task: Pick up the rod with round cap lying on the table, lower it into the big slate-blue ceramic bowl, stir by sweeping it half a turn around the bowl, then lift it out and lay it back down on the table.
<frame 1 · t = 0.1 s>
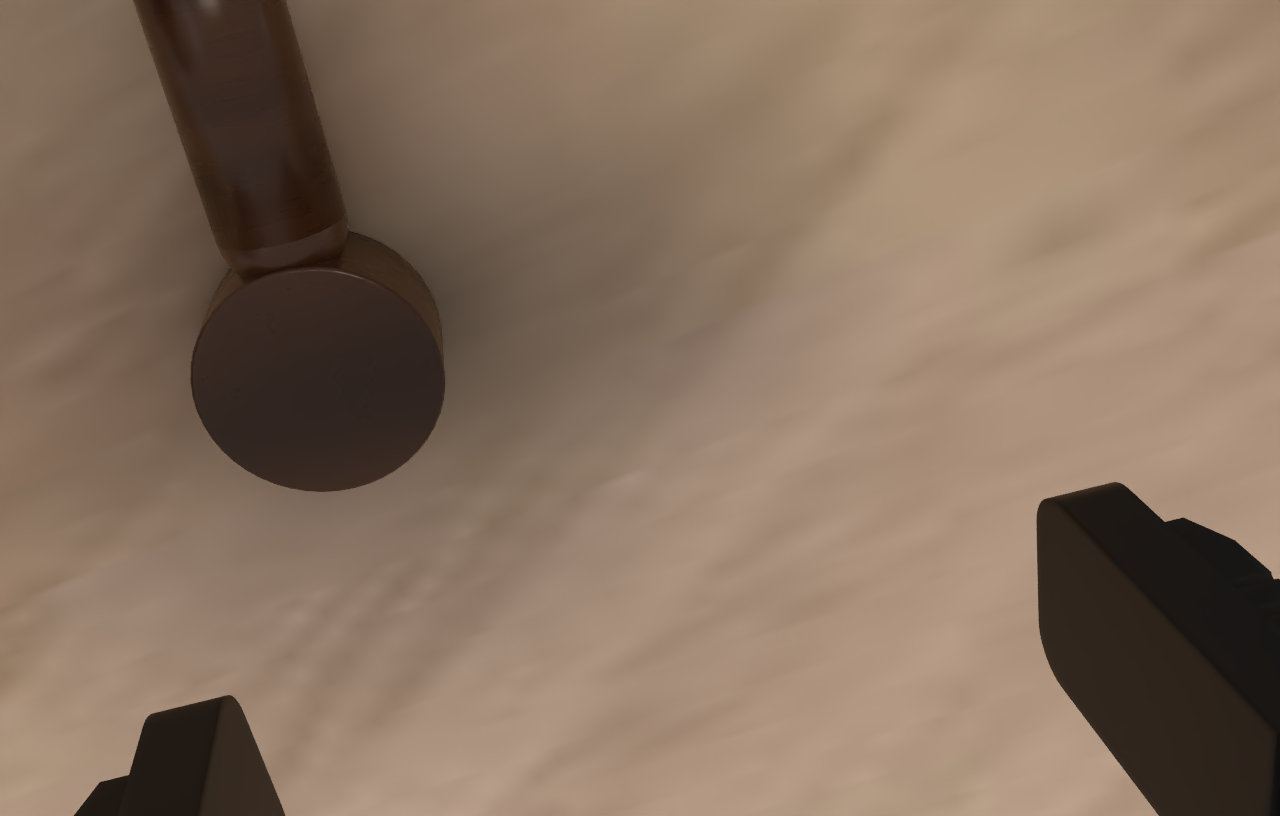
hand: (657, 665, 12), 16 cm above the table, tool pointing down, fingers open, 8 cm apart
rod with round cap: (257, 113, 25), on the table
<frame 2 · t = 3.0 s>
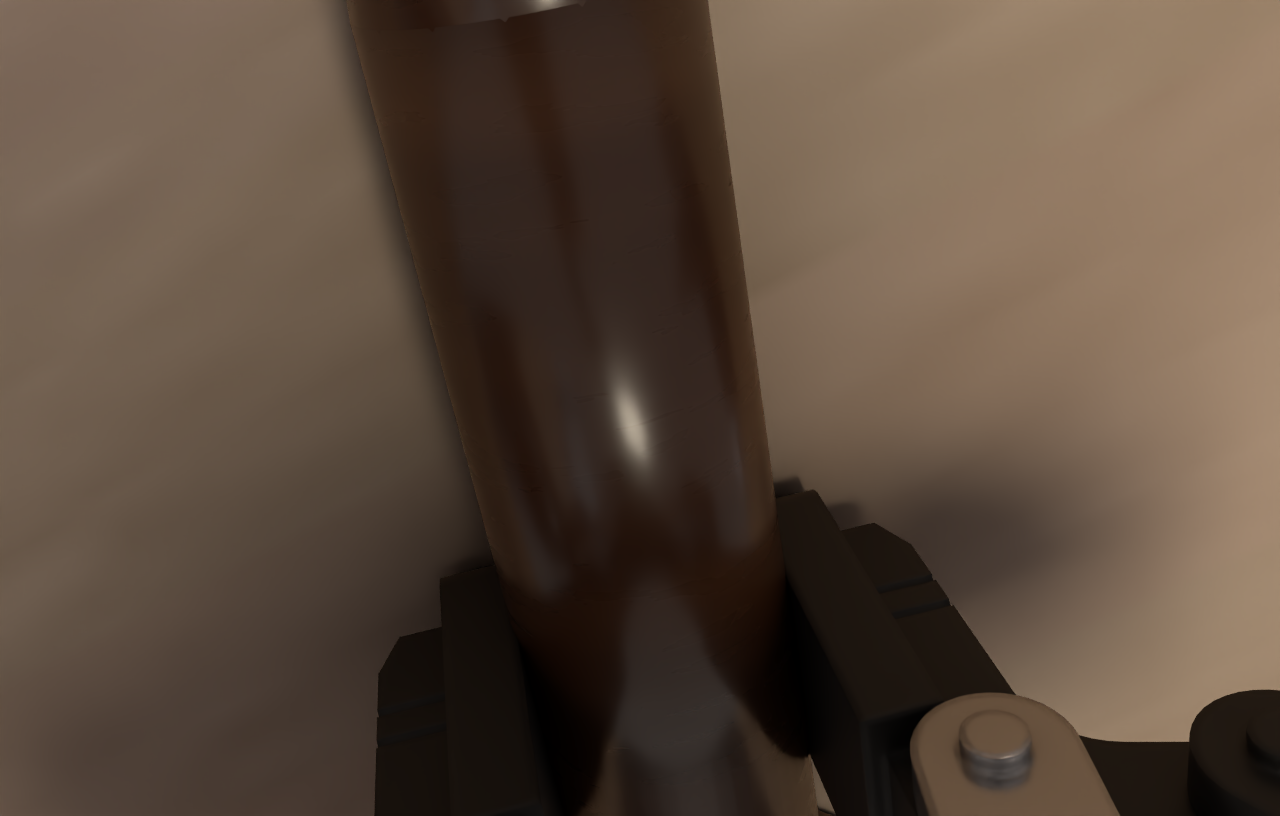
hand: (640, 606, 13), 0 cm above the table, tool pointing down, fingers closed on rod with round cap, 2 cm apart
rod with round cap: (648, 637, 13), on the table, touching gripper
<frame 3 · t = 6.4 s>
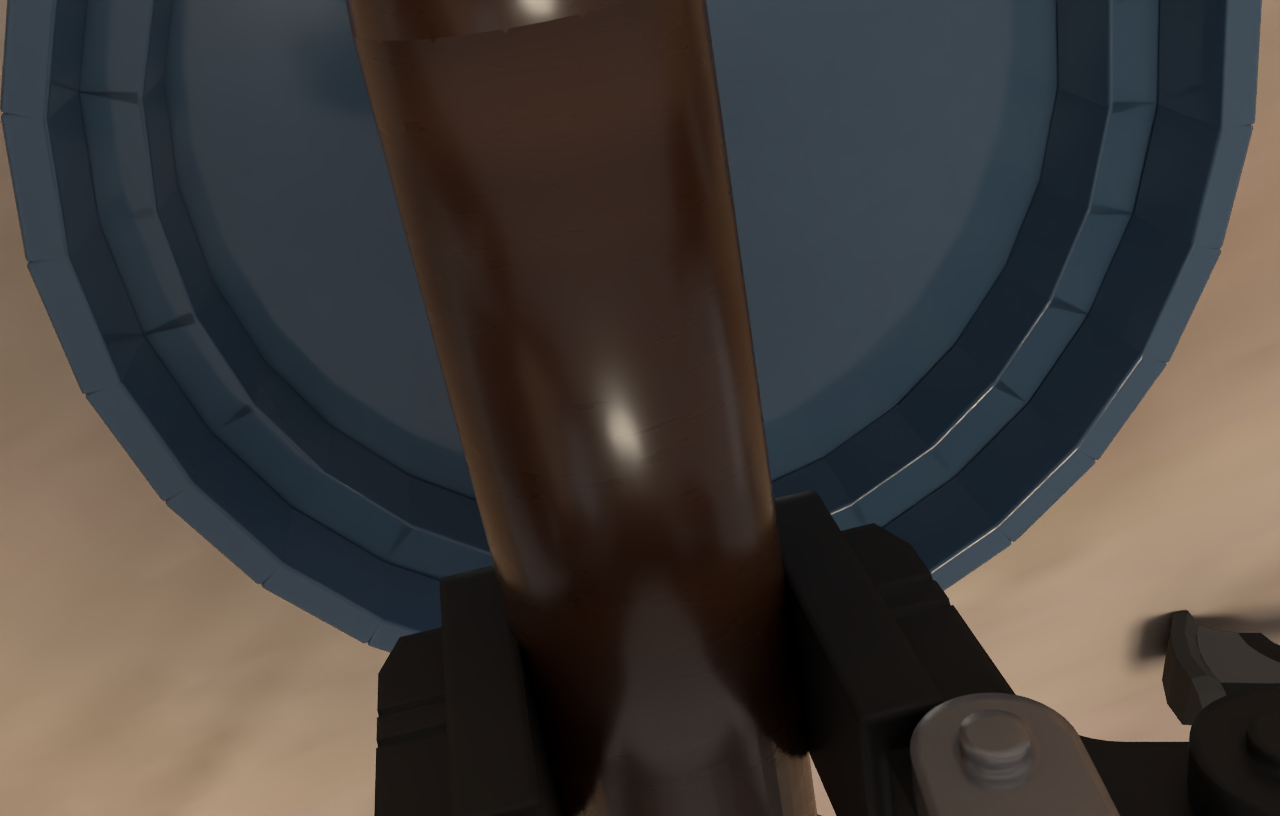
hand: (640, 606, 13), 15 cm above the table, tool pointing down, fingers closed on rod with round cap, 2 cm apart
rod with round cap: (648, 642, 13), point 15 cm above the table, touching gripper
bowl: (632, 125, 26), on the table
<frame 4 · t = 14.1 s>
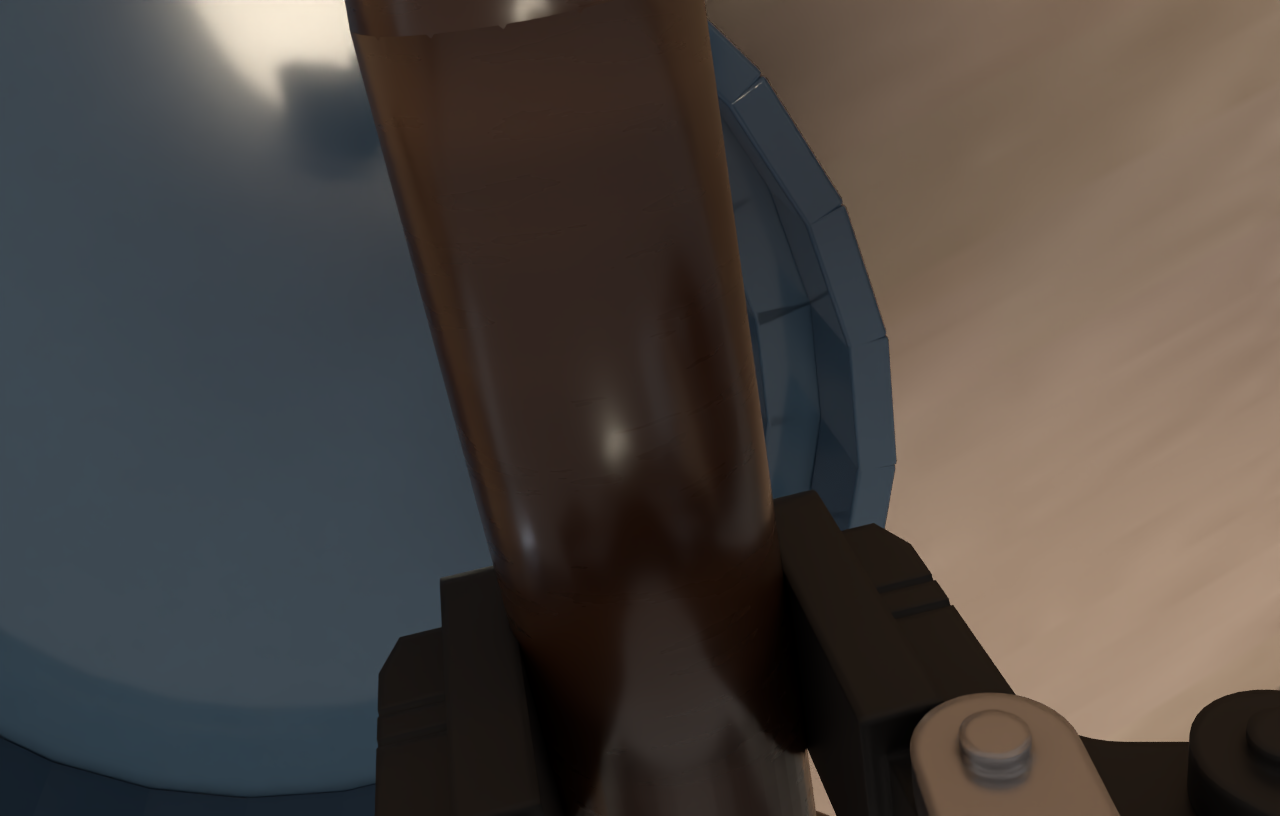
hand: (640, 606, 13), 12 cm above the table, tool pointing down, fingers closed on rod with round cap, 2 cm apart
rod with round cap: (647, 638, 13), point 12 cm above the table, touching gripper
bowl: (275, 412, 24), on the table
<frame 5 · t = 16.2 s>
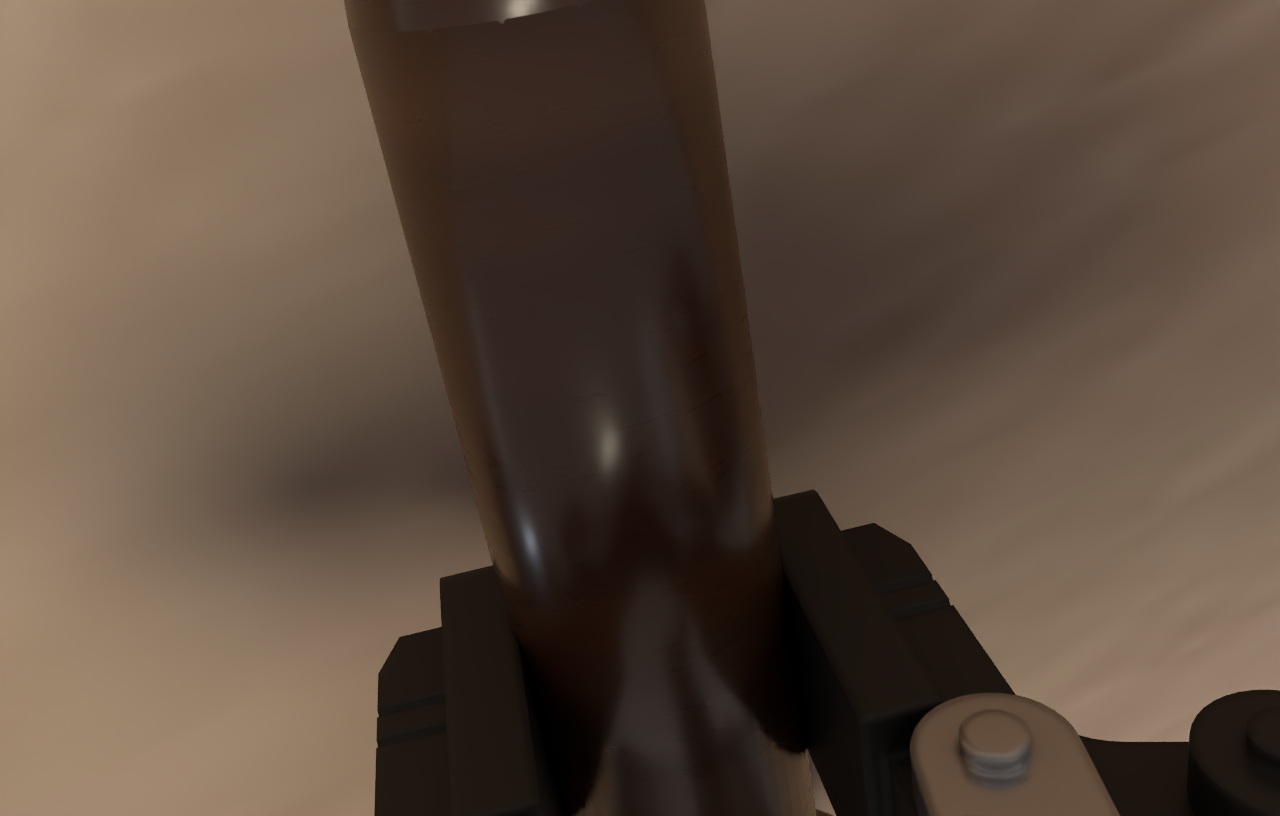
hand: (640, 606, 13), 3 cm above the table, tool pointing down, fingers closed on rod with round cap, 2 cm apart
rod with round cap: (647, 636, 13), point 3 cm above the table, touching gripper
when the fingers open (0 cm above the table, at t = 17.3 s): rod with round cap stays where it is, on the table.
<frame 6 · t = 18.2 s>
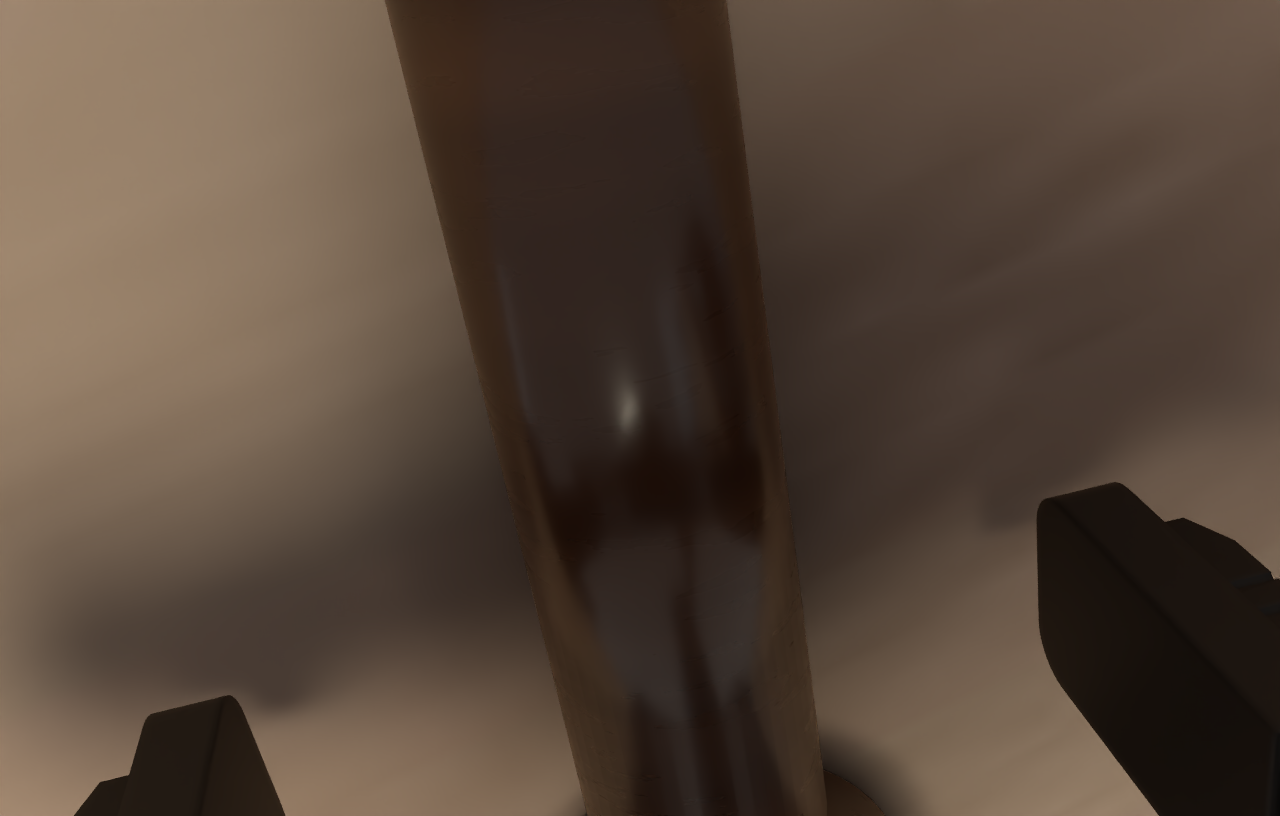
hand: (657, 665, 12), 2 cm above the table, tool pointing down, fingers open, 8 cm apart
rod with round cap: (658, 596, 14), on the table
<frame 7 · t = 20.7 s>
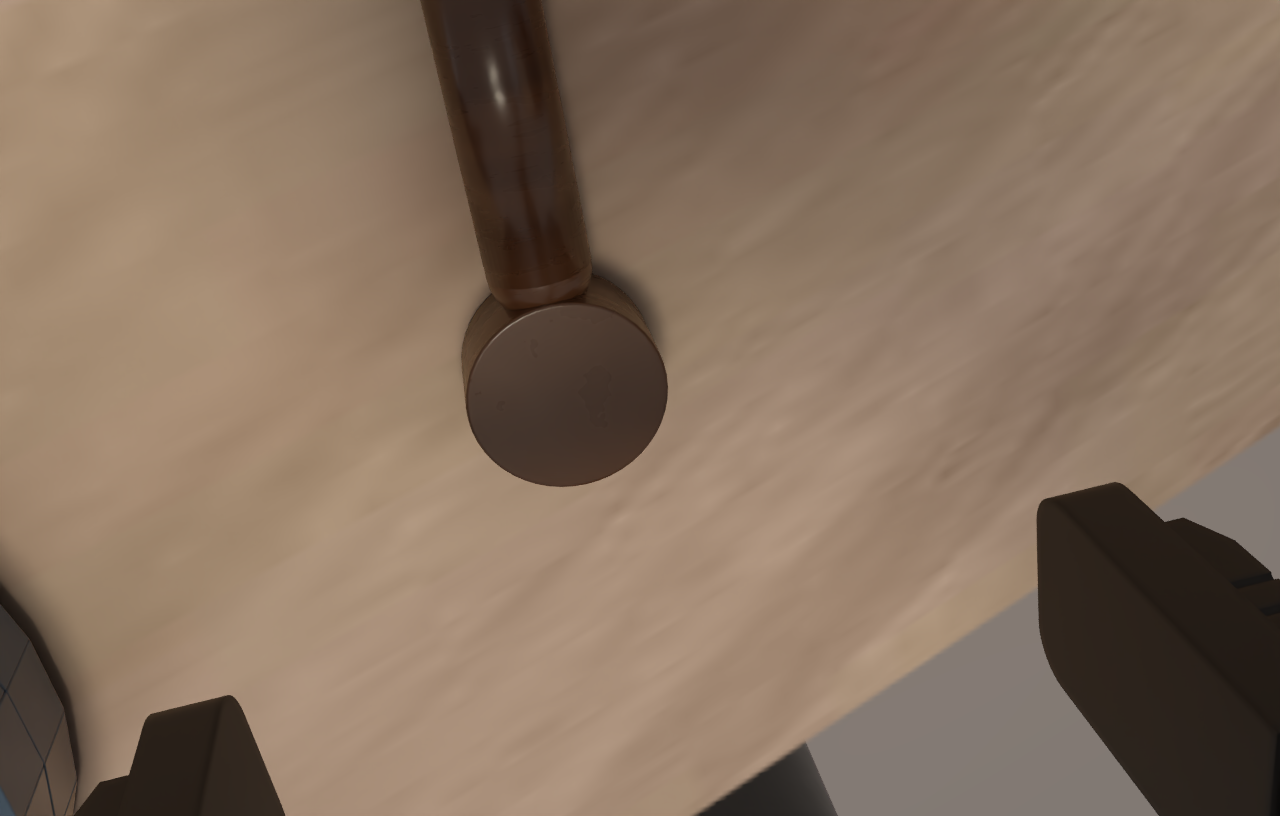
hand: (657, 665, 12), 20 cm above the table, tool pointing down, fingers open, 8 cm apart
rod with round cap: (517, 175, 30), on the table
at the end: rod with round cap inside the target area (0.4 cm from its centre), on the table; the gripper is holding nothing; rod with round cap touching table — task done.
